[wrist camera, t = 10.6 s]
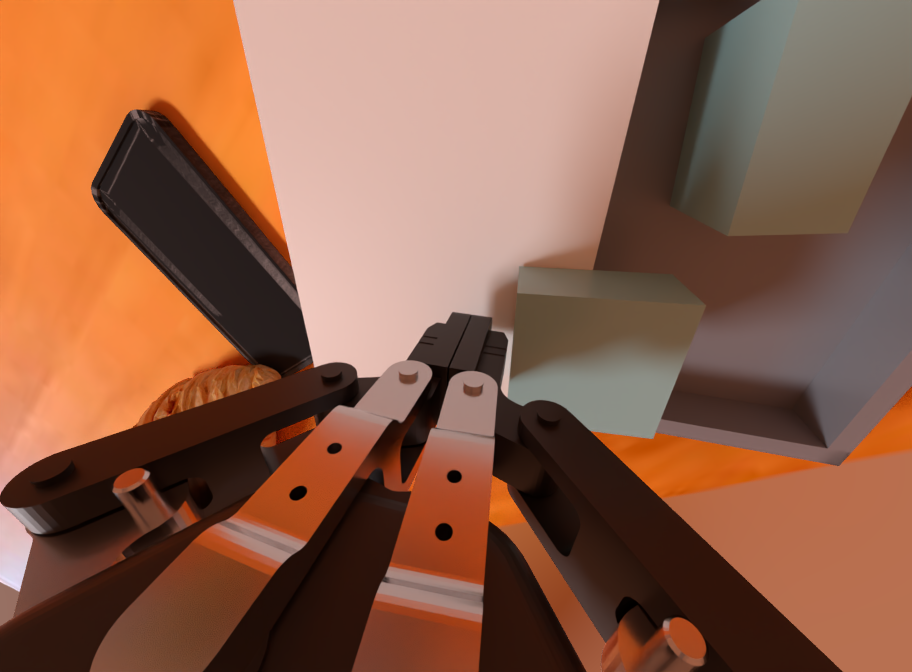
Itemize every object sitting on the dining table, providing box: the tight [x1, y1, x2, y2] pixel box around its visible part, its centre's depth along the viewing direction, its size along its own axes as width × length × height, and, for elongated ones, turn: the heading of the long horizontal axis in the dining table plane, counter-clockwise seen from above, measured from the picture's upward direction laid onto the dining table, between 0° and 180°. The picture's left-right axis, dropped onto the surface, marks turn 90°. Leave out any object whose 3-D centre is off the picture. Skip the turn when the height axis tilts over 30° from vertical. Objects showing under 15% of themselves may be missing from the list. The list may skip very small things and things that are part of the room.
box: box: [593, 0, 912, 466], centre depth 12 cm, size 16×12×3 cm
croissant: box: [133, 364, 281, 447], centre depth 26 cm, size 21×10×8 cm, turn 138°
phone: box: [91, 110, 313, 378], centre depth 20 cm, size 8×1×15 cm
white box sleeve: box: [233, 0, 659, 397], centre depth 14 cm, size 16×12×4 cm
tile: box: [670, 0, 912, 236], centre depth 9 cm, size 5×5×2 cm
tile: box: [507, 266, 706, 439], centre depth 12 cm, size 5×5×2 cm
